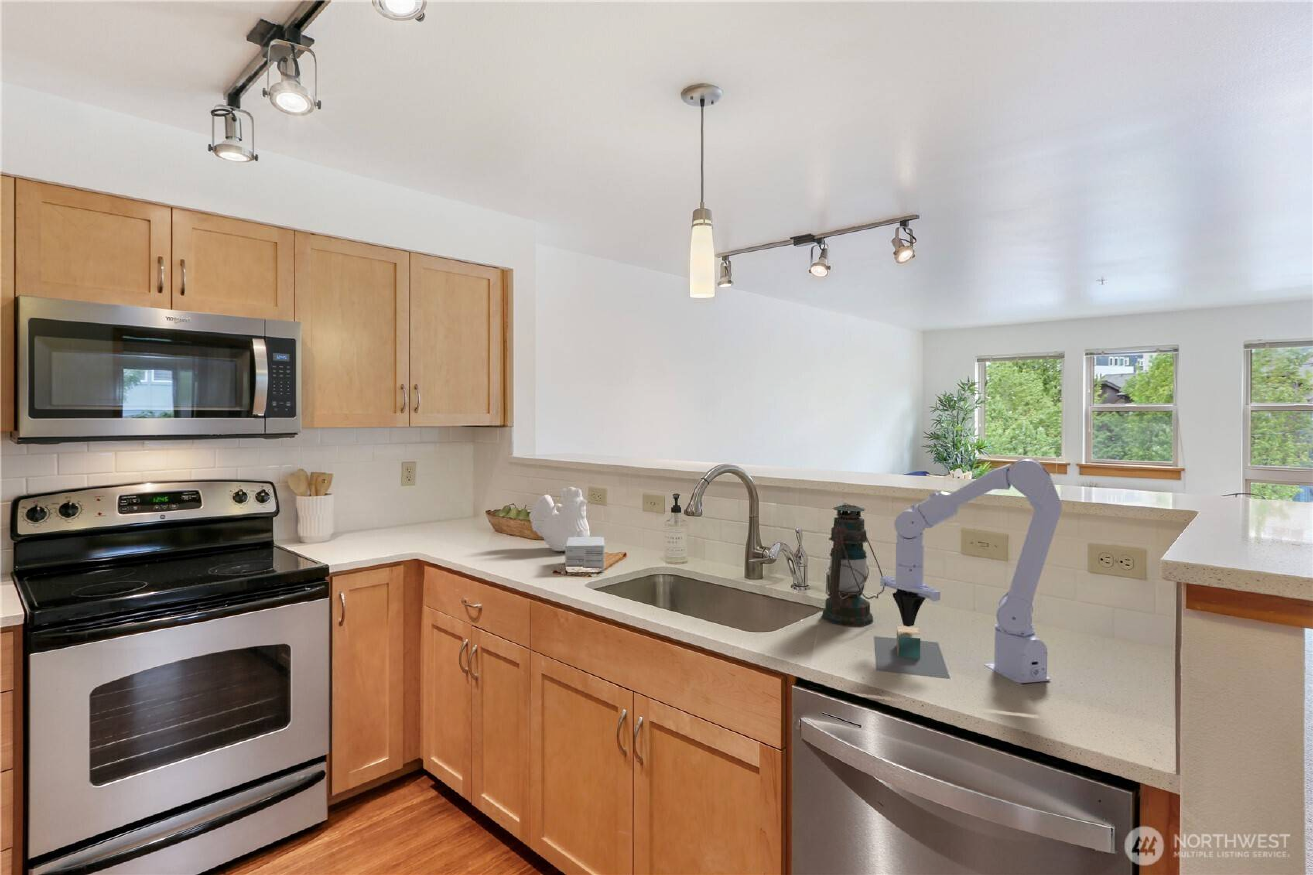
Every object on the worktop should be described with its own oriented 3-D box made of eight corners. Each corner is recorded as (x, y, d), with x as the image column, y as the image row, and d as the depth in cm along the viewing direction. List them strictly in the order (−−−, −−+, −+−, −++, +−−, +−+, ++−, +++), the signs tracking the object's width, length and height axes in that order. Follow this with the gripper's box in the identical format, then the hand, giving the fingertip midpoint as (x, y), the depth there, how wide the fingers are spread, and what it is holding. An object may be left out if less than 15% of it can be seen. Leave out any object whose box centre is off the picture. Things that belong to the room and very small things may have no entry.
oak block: (920, 638, 143) (917, 627, 150) (898, 636, 144) (896, 625, 151) (920, 658, 143) (917, 647, 150) (898, 656, 144) (896, 644, 151)
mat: (950, 680, 132) (950, 678, 132) (876, 672, 136) (876, 670, 136) (937, 644, 153) (937, 642, 153) (874, 638, 157) (874, 636, 157)
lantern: (839, 605, 184) (840, 497, 183) (891, 615, 175) (892, 502, 174) (807, 622, 169) (809, 505, 168) (862, 634, 160) (864, 510, 159)
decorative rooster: (598, 549, 259) (598, 486, 258) (571, 556, 245) (571, 489, 245) (550, 542, 273) (550, 482, 272) (522, 548, 260) (522, 485, 259)
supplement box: (604, 573, 221) (604, 545, 221) (564, 573, 220) (564, 545, 220) (604, 561, 238) (604, 535, 238) (567, 562, 237) (567, 536, 237)
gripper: (950, 569, 142) (948, 631, 143) (895, 556, 155) (894, 613, 155) (928, 572, 139) (926, 637, 139) (874, 559, 151) (873, 618, 152)
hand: (908, 625), depth 147 cm, fingers closed
